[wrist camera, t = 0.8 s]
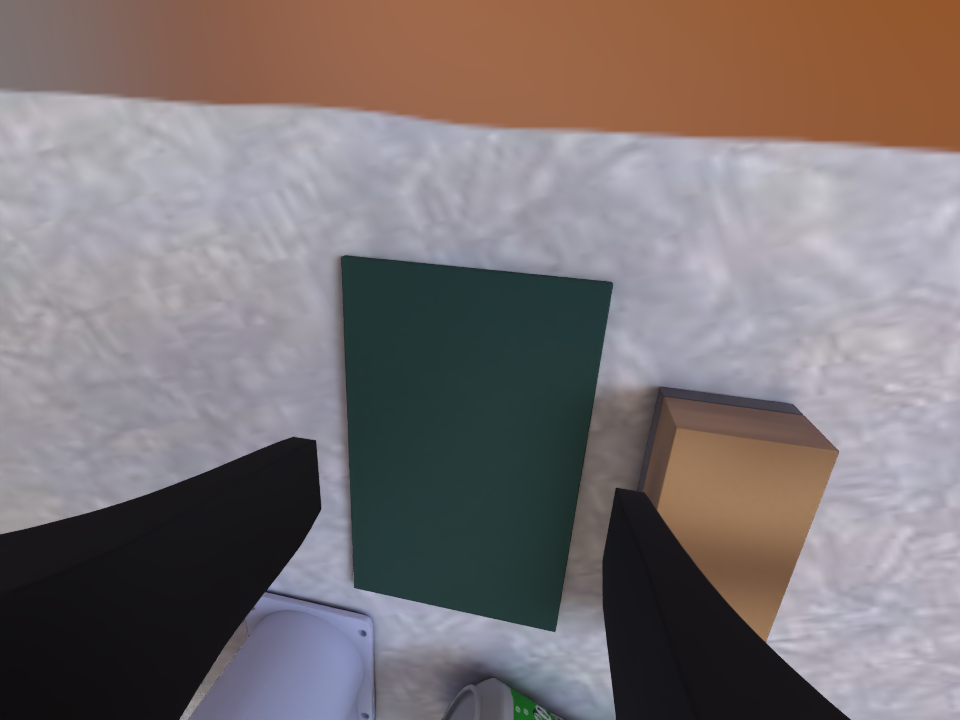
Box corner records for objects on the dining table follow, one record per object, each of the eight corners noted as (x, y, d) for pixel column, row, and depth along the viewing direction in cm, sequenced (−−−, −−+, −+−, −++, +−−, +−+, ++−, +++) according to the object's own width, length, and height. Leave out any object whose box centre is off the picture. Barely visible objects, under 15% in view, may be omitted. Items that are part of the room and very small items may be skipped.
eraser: (718, 629, 23) (742, 705, 19) (611, 607, 23) (616, 676, 20) (793, 403, 18) (840, 451, 15) (659, 385, 19) (675, 427, 16)
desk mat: (555, 625, 25) (555, 632, 24) (356, 582, 26) (353, 588, 26) (612, 281, 18) (613, 283, 18) (345, 255, 20) (340, 256, 20)
